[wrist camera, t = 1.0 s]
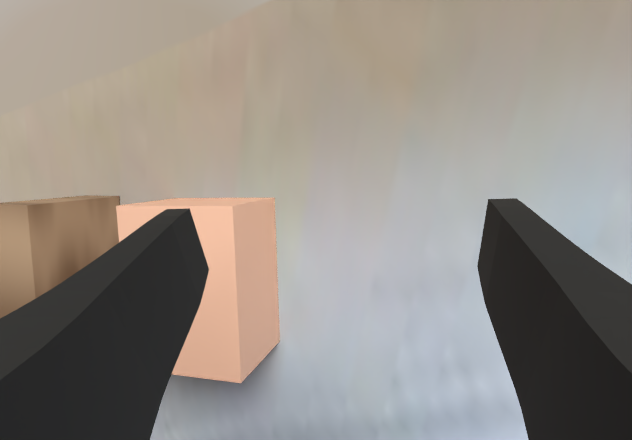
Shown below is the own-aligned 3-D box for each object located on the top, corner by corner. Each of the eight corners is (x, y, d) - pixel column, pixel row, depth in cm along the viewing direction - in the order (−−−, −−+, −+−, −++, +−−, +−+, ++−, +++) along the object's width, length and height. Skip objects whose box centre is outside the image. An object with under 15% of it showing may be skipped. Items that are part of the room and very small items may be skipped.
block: (280, 340, 24) (241, 383, 19) (187, 331, 26) (129, 369, 21) (275, 197, 23) (232, 205, 18) (178, 197, 25) (115, 205, 20)
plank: (141, 555, 29) (67, 652, 23) (110, 546, 29) (31, 638, 24) (119, 196, 26) (27, 205, 20) (85, 195, 26) (-14, 204, 21)
